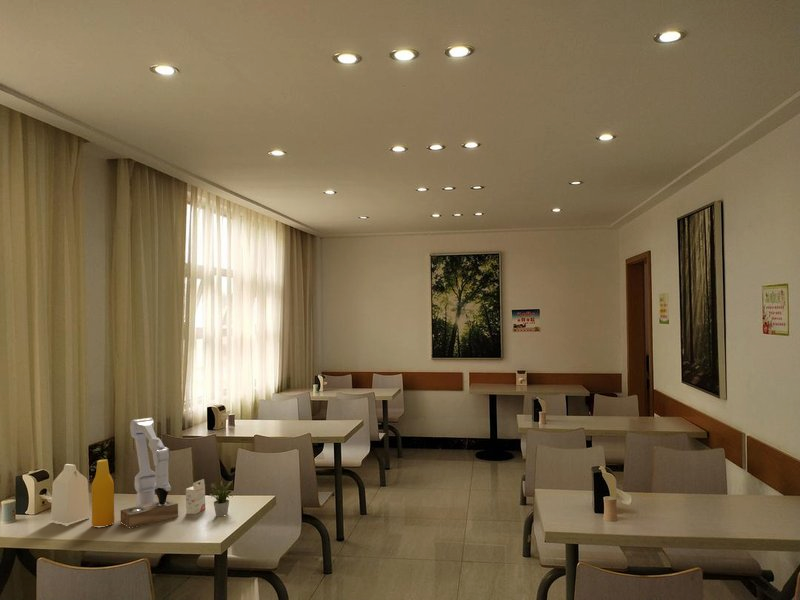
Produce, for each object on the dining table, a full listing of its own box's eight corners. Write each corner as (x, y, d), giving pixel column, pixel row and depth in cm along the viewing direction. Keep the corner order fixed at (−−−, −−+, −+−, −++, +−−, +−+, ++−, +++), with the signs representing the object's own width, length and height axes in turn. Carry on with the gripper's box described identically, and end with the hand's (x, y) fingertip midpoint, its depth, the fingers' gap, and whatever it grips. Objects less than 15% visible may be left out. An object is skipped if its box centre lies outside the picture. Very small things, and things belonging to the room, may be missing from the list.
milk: (50, 523, 278) (50, 466, 279) (74, 515, 288) (73, 461, 289) (66, 526, 272) (66, 468, 273) (90, 518, 282) (89, 462, 284)
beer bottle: (117, 524, 272) (116, 460, 273) (95, 529, 266) (94, 463, 267) (110, 520, 279) (109, 457, 280) (89, 525, 273) (88, 460, 274)
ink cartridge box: (197, 508, 293) (196, 478, 294) (205, 509, 291) (205, 478, 292) (185, 513, 285) (185, 482, 285) (194, 514, 283) (193, 483, 284)
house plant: (202, 522, 272) (201, 485, 272) (203, 513, 285) (202, 478, 286) (235, 518, 276) (234, 482, 276) (234, 509, 289) (233, 475, 290)
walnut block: (120, 523, 274) (120, 510, 274) (168, 511, 289) (167, 499, 289) (130, 528, 266) (129, 514, 266) (178, 516, 281) (177, 503, 282)
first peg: (130, 522, 273) (130, 510, 273) (139, 520, 276) (139, 508, 276) (133, 524, 270) (133, 512, 271) (142, 522, 273) (142, 509, 273)
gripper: (147, 474, 285) (147, 503, 284) (160, 478, 275) (160, 509, 274) (161, 471, 290) (162, 499, 289) (175, 475, 280) (175, 505, 279)
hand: (162, 504), depth 282 cm, fingers closed, pressing on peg
